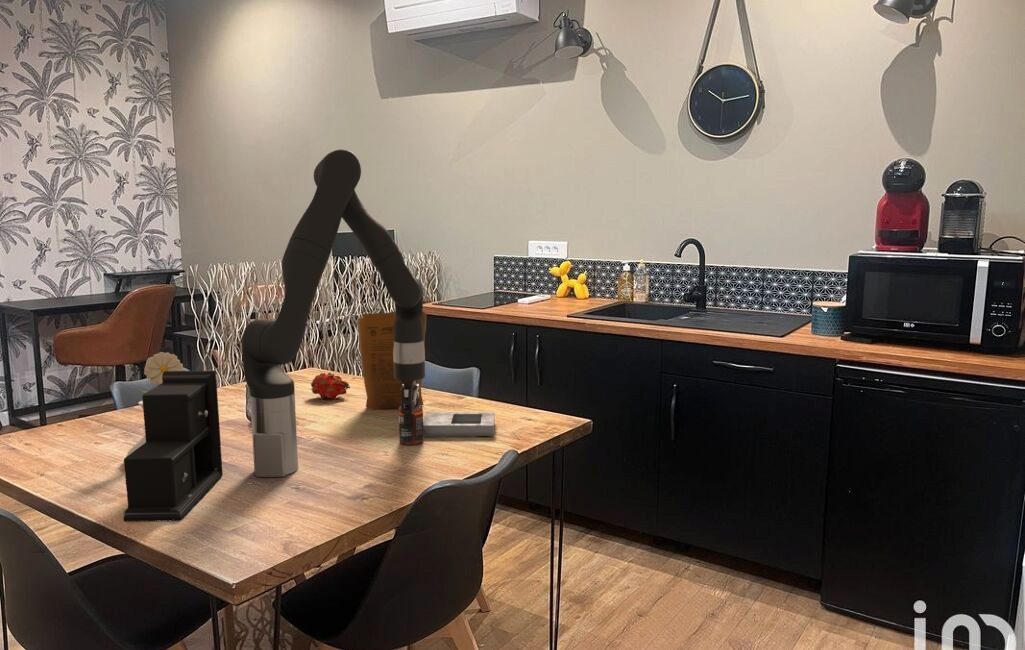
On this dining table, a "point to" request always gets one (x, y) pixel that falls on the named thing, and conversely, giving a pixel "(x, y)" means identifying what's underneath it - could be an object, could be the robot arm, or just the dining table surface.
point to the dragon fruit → (329, 386)
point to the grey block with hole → (458, 424)
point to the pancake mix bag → (381, 360)
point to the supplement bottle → (417, 432)
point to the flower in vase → (157, 377)
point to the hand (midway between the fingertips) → (410, 424)
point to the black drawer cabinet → (175, 448)
